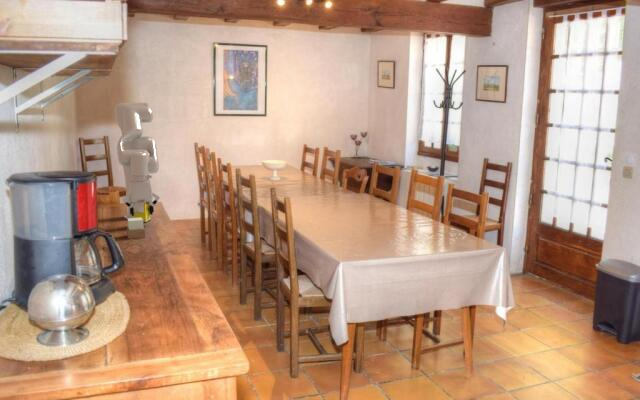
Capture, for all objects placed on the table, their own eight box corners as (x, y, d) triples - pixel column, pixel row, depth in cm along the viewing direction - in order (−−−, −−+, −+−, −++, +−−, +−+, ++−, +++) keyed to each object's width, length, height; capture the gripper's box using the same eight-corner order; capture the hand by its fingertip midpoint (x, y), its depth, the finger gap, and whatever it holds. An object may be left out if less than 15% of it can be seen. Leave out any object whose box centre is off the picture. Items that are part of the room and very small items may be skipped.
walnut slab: (127, 236, 258) (126, 227, 258) (143, 234, 261) (143, 225, 260) (128, 239, 252) (128, 230, 251) (145, 238, 255) (144, 229, 254)
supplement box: (150, 220, 278) (149, 198, 276) (146, 223, 273) (144, 201, 270) (138, 220, 279) (137, 197, 276) (133, 223, 273) (132, 200, 271)
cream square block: (128, 227, 258) (127, 218, 257) (142, 226, 260) (141, 217, 259) (129, 230, 252) (128, 221, 251) (143, 228, 255) (143, 220, 254)
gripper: (158, 176, 278) (159, 211, 282) (119, 178, 271) (122, 214, 275) (160, 178, 271) (162, 215, 275) (121, 181, 264) (123, 218, 268)
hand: (142, 214), depth 275 cm, fingers closed on supplement box, 8 cm apart
